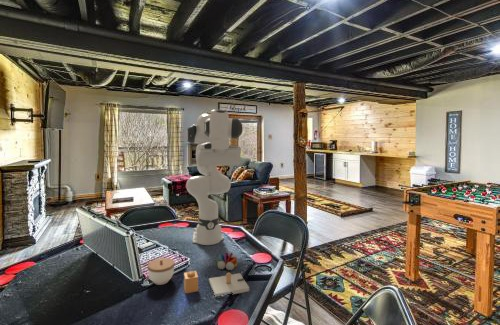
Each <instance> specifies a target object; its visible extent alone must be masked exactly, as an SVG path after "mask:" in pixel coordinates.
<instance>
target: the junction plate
mask: <svg viewBox="0 0 500 325" xmlns="http://www.w3.org/2000/svg"><path fill="white" fill-rule="evenodd" d="M208 283H209V285H211V286H210V287H211V290H213V291H212V293H213V292H214V293H213V296H214V295H215V296H214V298H215V297H216V296H220V295H223V294H227V293H230V292H232V293H233V294H232V295H237V294H242V293H247V292H250V286H249V285H248V284H247V282H246V281H245V278H243V276H242V274H241V273H240V272H239V273H231V272H229V271H228V272H226V273H225V275H221V276H214V277H210V278H208Z"/></svg>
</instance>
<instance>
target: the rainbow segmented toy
mask: <svg viewBox="0 0 500 325" xmlns="http://www.w3.org/2000/svg"><path fill="white" fill-rule="evenodd" d="M218 258H219V259H217V263H216V264H217V268H218V269H219V270H221V269H222V270H224V269H226V270H227V271H229V270H231V271H233V270H234V268H236V267H237V266H238V258H237V257H236V256H233V252H231V253H228V252H227V251H225V252H224V253H223V254H222V253H221V254H219V257H218Z"/></svg>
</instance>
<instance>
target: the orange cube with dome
mask: <svg viewBox="0 0 500 325" xmlns="http://www.w3.org/2000/svg"><path fill="white" fill-rule="evenodd" d="M183 288H184V294H189V293H190V294H191V293H194V292H195V293H196V292H199V275H198V272H197V270H194V271H193V270H190V271H186V272H183Z"/></svg>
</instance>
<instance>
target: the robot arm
mask: <svg viewBox="0 0 500 325" xmlns="http://www.w3.org/2000/svg"><path fill="white" fill-rule="evenodd" d="M229 117H230V116H229V112H228V111H227V110H226V109H222V108H221V109H219V108H218V109H215V108H214V109H212V110H211V111H210V113H202V114H200V115H199V116H198V118H197V120H196V124H194V123H193V124H192V125H191V126H189V127H187V129H186V131H185V138H186V140H187V142H188V143H190V144H197V146H196V147H195V161H196V169H197V171H198V172H199V174H201V175H195V176H191V177H189V178H188V179H187V181H186V184H185V186H186V187H185V188H186V190H187V192H188V194H189V195H191V196H192V197H193V198H194V199H195V200H196V202H197V204H198V219H197V223H198V224H197V225H196V227H194V228H193V234H192V235H193V236H192V242H191V243H193V244H199V245H201V246H203V245H204V246H211V245H216V244H219V243H221V241H222V240H225V237H224V236H223V235H222V225H220V216H219V205H218V203H217V202H216V201H215V200H214V199H211V198H209V196H210V195H221V194H225V193H229V191H230V189H231V186H232V184H231V180H230V178H229V177H228V176H231V175H232V171H233V169H234V166H240V165H241V164H242V158H241V153H242V148H241V147H240V146H238V145H237V144H236V145H232V144H230V139H233V140H236V139H238V138H240V136H241V135H242V134H243V123H242V122H241V120H240V119H238V118H237V117H235V118H233V117H232V118H229ZM218 166H221V167H222V166H223V167H224V166H228V167H229V170H227V171H226V175H225V174H223V173H222V172H221V171H220V170H219V169H218Z"/></svg>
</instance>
